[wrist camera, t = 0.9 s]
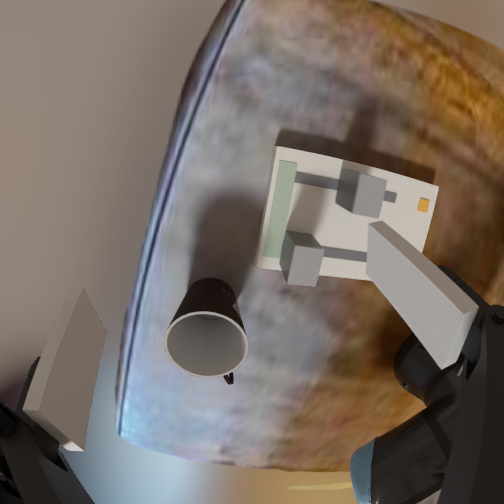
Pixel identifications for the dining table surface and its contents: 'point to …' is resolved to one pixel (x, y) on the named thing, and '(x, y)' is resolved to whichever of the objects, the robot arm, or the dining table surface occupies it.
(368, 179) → the block
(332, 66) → the dining table surface
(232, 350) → the coffee mug
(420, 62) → the dining table surface
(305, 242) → the block
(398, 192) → the panel
